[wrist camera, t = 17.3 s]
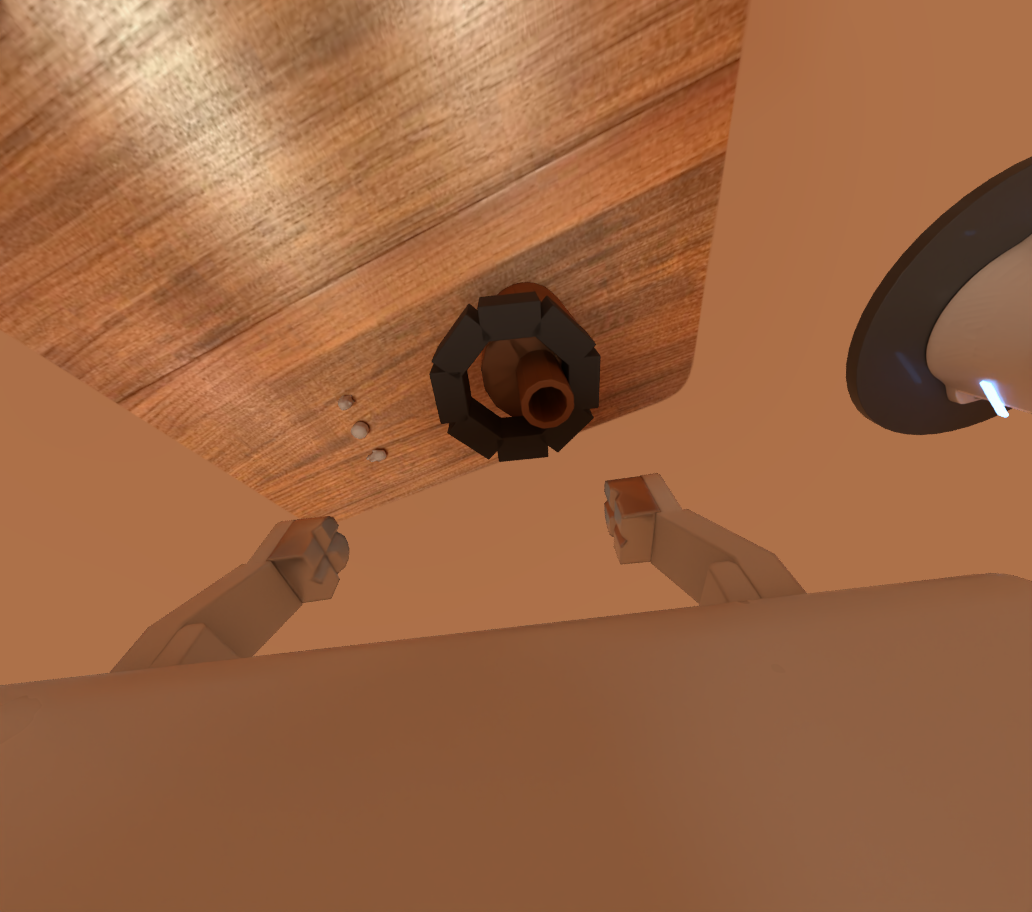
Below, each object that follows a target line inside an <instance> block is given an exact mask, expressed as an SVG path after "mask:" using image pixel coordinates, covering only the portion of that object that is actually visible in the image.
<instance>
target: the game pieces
mask: <svg viewBox="0 0 1032 912" xmlns="http://www.w3.org/2000/svg"><path fill="white" fill-rule="evenodd" d="M351 397H352V395H347V396H342V397H341V398H340V399H339V400H338V405H339V407H340V409H341V410H347V409H349V408H350V407H351V406H352V404H353V403H354V402H355V401H354V400H352V398H351ZM368 432H369V428H368V426H367V425H366V424H365V423H363V422H361V421H360V422H357V423H355V424H354V426H353V427H352V429H351V433H352V435H353V436H354V437H356V438H358V439H361V438H365V437H366V435H367V433H368ZM385 458H386V453H385V451H384V450H373V453H372V454H371V455H368V457H367V458H366V459H367V460H369V459H370V461H371V462H373V461H381V460H383V459H385Z"/></svg>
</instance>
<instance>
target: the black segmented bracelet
mask: <svg viewBox="0 0 1032 912" xmlns="http://www.w3.org/2000/svg"><path fill="white" fill-rule="evenodd" d="M477 309H478V310H476V309H475V308H474V307H473V306H472V305H470V304H468V305H467V307H466V308H465V309H464V311H463V312H462V314H461V315H460V316H459V318H458V319H457V321H456V322H455V323H454V325H453V326H452V328H451V329H450V330H449V332H448V333H447V335H446V336H445V337H444V339H443V340H442V342H441V343H440V344H439V346H438V348H437V350H436V352H435V355H434V357H433V359H432V363H434V364H433V367H432V369H431V371H430V374H429V375H430V379H431V383H432V388H433V392H434V396H435V401H436V405H437V409H438V414H439V418H440V422H441V424H445V423H449V428H448V432H447V433H448V434H450V435H451V436H453V437H454V438H456V439H457V440H459V441H461V442H462V443H464V444H465V445H467V446H468V447H470V448H471V449H473V450H475V451H476V452H478V453H479V454H481V455H482V456H484V457H485V458H487V459H490V458H491V457H492V456H493V455H494V454H495V453H496V452H497V451H498V458H499V462H503V461H512V460H523V459H532V458H542V457H548V446H549V447H551V448H552V449H554V450H555V451H556V452H559V451H560V450H561V449H562V448H563V447H564V446H565V445H566V444H567V443H568V442H569V441H570V440H571V439H572V438H573V437H575V435H577V434H578V433H579V432H580V431H581V430H582V429H583V428H584V427H585V426H586V425H587V424H588V423H589V422H590V421H591V420H592V419H593V418H594V417H593V415H592V413H591V411H590V409H591V408H598V407H599V382H600V355H599V353H598V352H597V351H596V349H595V348H594V346H595V345H596V344H595V342H594V341H593V340H592V338H591V337H590V336H589V335H588V333H587V332H586V331H585V330H584V329H583V328H582V327H581V326H580V325H579V324H578V323H576V322H575V321H574V320H573V319H572V318H571V317H570V316H569V315H568V314H567V313H566V312H565V311H564V310H563V309H561V308H560V307H559V306H558V305H557V304H556V303H555V302H554V301H553V300H552V299H551V298H550V297H549V296H546V297H545V298H544V299H543V300H542V302H541V301H540V299H539V297H538V296H537V294H536V292H535V291H533V292H523V293H514V294H505V295H495V296H486V297H480V298H479V302H478V308H477ZM528 337H536V338H537V339H539V340H540V341H541V342H542V343H543V344H544V345H546V346H547V347H548V348H549V349H550V350H551V351H553V352H554V353H555V354H556V355H557V356H558V357H560V358H561V364H562V370H563V372H564V374H565V377H566V379H567V381H568V383H569V386H570V388H571V390H572V392H573V395H574V409H573V411H572V412H571V414H570V416H569V418H568V419H567V420H566V421H564V422H563V423H561V424H560V425H558V426H556V427H551V428H540V427H537V426H534V425H531V424H530V423H529V422H528V421H527V420H526V418H525V417H524V416H515V417H506V418H501V417H499V416H498V415H496V414H495V413H493V412H492V411H491V410H489V409H488V408H486V407H485V406H484V405H482V404H481V403H479V402H478V401H477V400H475V399H474V398H472V396H471V391H470V385H469V379H468V373H467V369H468V368H469V367H470V366H471V364H472V363H473V362H474V360H475V359H476V358H477V357H478V355H479V354H480V353H481V351H482V350H483V349H484V348H485V346H486V345H487V344H488V342H490V341H499V340H509V339H518V338H528Z"/></svg>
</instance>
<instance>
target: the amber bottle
mask: <svg viewBox="0 0 1032 912" xmlns="http://www.w3.org/2000/svg"><path fill="white" fill-rule="evenodd" d="M533 291H535V292H536V294H537V296H538V297H539V299H540V301H541V302H542V300H543V299H544V298H545V297H546V296H549V297H550V298H551V299H552V300H553V301H554V302H555V303H556V304H557V305H558V306H559V307H560V308H561V309H563V310H564V311H565V312H566V313H567V314H568V315H569V316H570V317H571V318H572V319H573V320H574V318H573V317H572V316H571V314H570V313H569V312H568V310H567V309H566V308H565V307H564V305H563V304H562V303H561V301H560V300H559V299H558V298H557V297H556V296H555V295H554V294H553V293H552V292H551V291H550V290H548V289H547V288H546V287H544V286H542V285H539V284H536V283H530V282H522V283H517V284H513V285H511V286H509V287H507V288H505V289H504V290H502V291H501V292H500V293H499V294H498V295H505V294H514V293H523V292H533ZM574 321H575V320H574ZM575 322H576V321H575ZM576 323H577V322H576ZM481 371H482V376H483V381H484V387H485V390H486V392H487V393H488V395H489V396H490V398H491V399H492V401H493V402H494V404H495V405H496V406H497V407H498V408H500V409H501V410H503V411H504V412H506V413H507V414H509V415H510V416H512V417H515V416H524V417H525V418H526V420H527V421H528V422H529V423H530V424H531V425H534V426H537V427H540V428H551V427H556V426H558V425H560V424H561V423H563V422H564V421H566V420H567V419H568V418H569V416H570V414H571V412H572V411H573V409H574V395H573V392H572V390H571V388H570V386H569V383H568V381H567V379H566V377H565V374H564V372H563V370H562V364H561V358H560V357H558V356H557V355H556V354H555V353H554V352H553V351H551V350H550V349H549V348H548V347H547V346H546V345H544V344H543V343H542V342H541V341H540V340H539V339H537V338H536V337H528V338H518V339H509V340H499V341H490V342H488V344H487V345H486V346H485V348H484V349H483V354H482V365H481Z"/></svg>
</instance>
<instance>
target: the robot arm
mask: <svg viewBox="0 0 1032 912" xmlns="http://www.w3.org/2000/svg"><path fill="white" fill-rule="evenodd" d="M926 360H927V365H928V368H929V370H930V372H931V373H932V374H933V375H934V376H935V377H936V378H937V379H939V380H940V381H941V382H943V383H944V384H945V386H946V393H947V397H948V399H949V400H950V401H952V402H956V403H959V404H966V403H970V402H974V401H977V400H981V399H984V400H988V401H990V402H991V404H992V406H993V407H994V409H995V411H996V413H997V414H998V415H1001V416H1003V417H1007V416H1009V415H1008V413H1007V411H1006V409H1005V407H1004V406H1007V407H1011V408H1014V409H1017V410H1021V411H1024V412H1027V413H1031V414H1032V234H1031V235H1030V236H1029V237H1027V238H1026V239H1025V240H1023V241H1022V242H1020V243H1019V244H1017V245H1016V246H1014V247H1013V248H1011V249H1010V250H1008V251H1006V252H1005V253H1003V254H1002V255H1000V256H999V257H997V258H996V259H994V260H993V261H992V262H990V263H989V264H988V265H986V266H985V267H984V268H983V269H981V270H980V271H979V272H978V273H977V274H975V275H974V276H973V277H972V278H971V279H970V280H969V281H968V282H967V283H966V284H965V285H964V286H963V287H962V288H961V289H960V290H959V291H958V292H957V294H956V295H955V296H954V297H953V298H952V300H951V301H950V302H949V303H948V305H947V306H946V308H945V309H944V310H943V312H942V313H941V315H940V317H939V318H938V320H937V322H936V324H935V326H934V328H933V330H932V332H931V335H930V338H929V341H928V345H927V350H926ZM1003 405H1004V406H1003ZM605 494H606V497H607V501H606V502H605V518H606V524H607V528H608V531H609V533H610V535H611V536H613V537H614V548H615V551H616V554H617V556H618V559H619V562H620V564H630V563H640V562H651V563H652V564H653V565H654V566H655V567H657V569H659V570H660V571H661V572H662V573H664V574H665V575H666V576H667V577H668V578H669V579H671V580H672V581H673V582H674V583H675V584H676V585H678V586H679V587H680V588H681V589H682V590H684V591H685V592H686V593H687V594H688V595H689V596H691V597H692V598H693V599H694V600H695V601H697V602H698V603H699V606H694V607H686V608H677V609H668V610H659V611H650V612H641V613H633V614H624V615H616V616H606V617H597V618H588V619H579V620H571V621H562V622H554V623H544V624H535V625H527V626H518V627H509V628H501V629H491V630H484V631H474V632H466V633H456V634H448V635H438V636H430V637H421V638H412V639H403V640H395V641H386V642H377V643H368V644H360V645H350V646H342V647H333V648H324V649H315V650H306V651H298V652H289V653H280V654H272V655H263V656H254V657H252V656H253V655H254V654H255V653H256V652H257V651H258V650H259V649H260V648H261V647H262V646H263V645H264V644H265V642H267V641H268V640H269V639H270V638H271V637H272V636H273V634H274V633H276V631H277V630H278V629H279V628H280V627H281V626H282V625H283V624H284V623H285V622H286V621H287V620H288V619H289V618H290V617H291V616H292V615H293V614H294V613H295V612H296V611H297V610H298V609H299V608H300V607H301V606H302V603H306V602H313V601H319V600H326V599H331V598H332V596H333V594H334V591H335V589H336V587H337V585H338V582H339V580H340V579H339V576H338V573H339V572H340V571H341V570H342V569H344V568H345V566H346V564H347V561H348V559H349V546H348V542H347V540H346V538H345V536H343V535H342V534H340V533H338V532H337V529H338V526H339V525H338V524H337V522H336V520H335V519H334V517H330V516H325V517H315V518H305V519H297V520H289V521H281V522H279V523H277V524H276V525H275V526H274V527H273V529H272V530H271V531H270V533H269V534H268V536H267V537H266V538H265V540H264V541H263V542H262V544H261V545H260V546H259V548H258V549H257V551H256V552H255V553H254V555H253V556H252V557H251V559H250V560H249V561H248V563H247V564H242V565H240V566H239V567H237V568H235V569H234V570H232V571H231V572H230V573H228V574H227V575H225V576H224V577H222V578H221V579H219V580H218V581H216V582H215V583H213V584H212V585H210V586H209V587H208V588H206V589H204V590H203V591H201V592H200V593H199V594H197V595H196V596H194V597H193V598H191V599H190V600H188V601H187V602H185V603H184V604H182V605H181V606H180V607H178V608H176V609H175V610H173V611H172V612H171V613H169V614H167V615H166V616H165V617H163V618H162V619H160V620H159V621H157V622H156V623H154V624H153V625H151V626H150V627H148V628H147V629H146V631H145V632H144V633H143V634H142V635H141V637H140V638H139V639H138V640H137V641H136V642H135V644H134V645H133V646H132V647H131V648H130V649H129V650H128V652H127V653H126V654H125V655H124V656H123V657H122V659H121V660H120V661H119V662H118V664H116V666H115V667H114V668H113V669H112V670H111V672H110V673H105V674H97V675H87V676H79V677H70V678H61V679H53V680H43V681H34V682H26V683H18V684H8V685H0V912H1032V581H1030V580H1026V579H1023V578H1020V577H1017V576H1014V575H1008V574H996V573H988V574H973V575H964V576H956V577H948V578H940V579H932V580H922V581H913V582H905V583H897V584H887V585H879V586H870V587H861V588H852V589H845V590H835V591H826V592H817V593H809V594H807V593H806V592H805V590H804V589H803V588H802V587H801V585H800V584H799V583H798V582H797V581H796V579H795V578H794V577H793V576H792V575H791V573H790V572H789V571H788V570H787V568H786V567H785V566H784V565H783V564H782V562H781V561H780V560H779V559H778V557H777V556H776V555H775V554H773V553H772V552H770V551H768V550H766V549H764V548H762V547H760V546H758V545H756V544H754V543H752V542H750V541H748V540H747V539H745V538H743V537H741V536H739V535H737V534H735V533H733V532H731V531H729V530H727V529H725V528H723V527H721V526H720V525H718V524H716V523H714V522H712V521H710V520H708V519H706V518H704V517H702V516H700V515H698V514H696V513H694V512H692V511H691V510H689V509H684V510H682V508H681V507H680V505H679V503H678V502H677V500H676V499H675V497H674V496H673V494H672V493H671V491H670V489H669V488H668V486H667V485H666V483H665V482H664V480H663V479H662V477H661V475H660V474H658V473H655V474H648V475H641V476H639V477H630V478H623V479H615V480H608V481H605Z"/></svg>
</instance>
